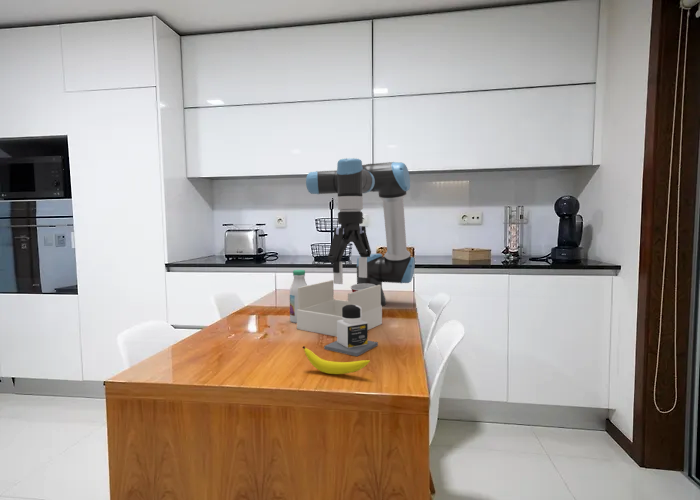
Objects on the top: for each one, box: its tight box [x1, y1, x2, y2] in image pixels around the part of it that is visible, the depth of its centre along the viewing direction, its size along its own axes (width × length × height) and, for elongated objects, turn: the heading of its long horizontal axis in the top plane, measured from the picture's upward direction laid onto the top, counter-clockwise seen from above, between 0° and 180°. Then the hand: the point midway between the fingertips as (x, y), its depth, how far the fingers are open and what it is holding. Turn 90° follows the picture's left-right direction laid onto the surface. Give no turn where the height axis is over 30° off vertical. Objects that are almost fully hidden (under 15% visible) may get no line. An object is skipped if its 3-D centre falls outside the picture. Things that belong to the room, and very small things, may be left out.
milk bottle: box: [289, 269, 308, 324], centre depth 157 cm, size 8×8×20 cm
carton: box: [296, 279, 383, 338], centre depth 149 cm, size 23×23×15 cm
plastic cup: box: [350, 283, 376, 293], centre depth 168 cm, size 11×11×12 cm
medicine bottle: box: [336, 305, 369, 348], centre depth 125 cm, size 7×7×12 cm
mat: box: [323, 340, 379, 357], centre depth 125 cm, size 12×12×1 cm
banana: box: [302, 345, 371, 375], centre depth 103 cm, size 3×19×6 cm, turn 67°
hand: (351, 280), depth 123 cm, fingers open, 13 cm apart
